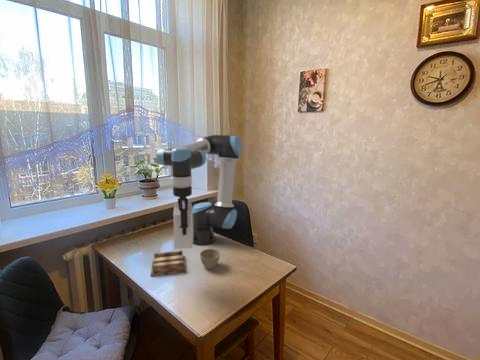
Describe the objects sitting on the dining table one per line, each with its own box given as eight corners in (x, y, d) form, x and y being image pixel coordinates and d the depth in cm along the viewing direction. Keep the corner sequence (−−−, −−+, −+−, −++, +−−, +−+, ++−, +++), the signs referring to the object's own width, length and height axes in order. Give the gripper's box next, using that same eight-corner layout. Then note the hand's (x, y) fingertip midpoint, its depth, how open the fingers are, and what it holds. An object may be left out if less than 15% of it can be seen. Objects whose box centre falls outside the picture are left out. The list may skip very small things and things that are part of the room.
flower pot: (203, 274, 118) (203, 260, 116) (197, 263, 126) (197, 251, 125) (223, 269, 122) (223, 256, 121) (215, 259, 131) (215, 247, 129)
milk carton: (177, 241, 111) (175, 200, 107) (193, 240, 112) (192, 200, 107) (174, 249, 104) (172, 206, 100) (191, 248, 105) (190, 205, 101)
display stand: (184, 257, 132) (184, 249, 131) (185, 271, 119) (185, 263, 118) (152, 260, 128) (152, 252, 127) (150, 276, 115) (150, 267, 114)
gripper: (172, 180, 111) (174, 228, 116) (173, 193, 91) (175, 249, 96) (189, 179, 113) (190, 226, 118) (193, 191, 93) (195, 247, 98)
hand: (184, 236), depth 107 cm, fingers closed on milk carton, 8 cm apart
